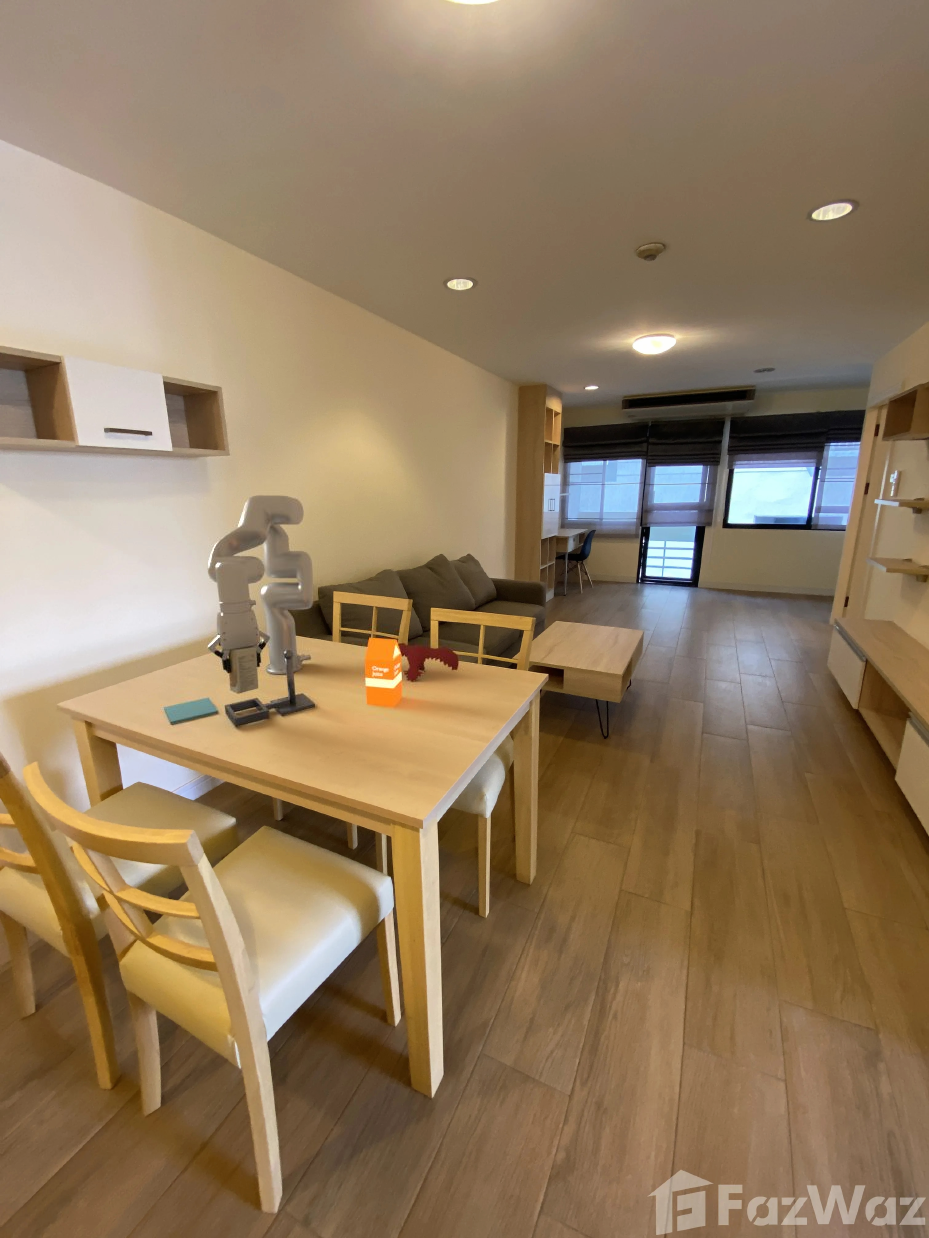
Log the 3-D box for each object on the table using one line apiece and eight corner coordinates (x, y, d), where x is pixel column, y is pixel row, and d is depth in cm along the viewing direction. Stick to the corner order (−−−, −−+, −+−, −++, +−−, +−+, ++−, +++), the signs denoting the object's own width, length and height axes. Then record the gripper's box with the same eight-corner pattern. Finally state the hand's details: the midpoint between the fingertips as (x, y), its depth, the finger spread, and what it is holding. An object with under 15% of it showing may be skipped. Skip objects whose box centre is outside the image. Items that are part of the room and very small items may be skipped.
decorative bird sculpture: (455, 693, 171) (463, 653, 178) (448, 683, 164) (458, 642, 170) (380, 684, 179) (391, 646, 186) (370, 674, 171) (382, 635, 178)
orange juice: (394, 707, 150) (392, 643, 145) (366, 704, 152) (363, 641, 147) (402, 696, 157) (400, 636, 152) (375, 694, 159) (373, 634, 154)
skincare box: (250, 685, 144) (248, 644, 141) (258, 688, 141) (257, 646, 139) (228, 690, 138) (226, 647, 136) (237, 694, 136) (235, 651, 134)
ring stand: (302, 696, 157) (298, 642, 153) (315, 707, 149) (311, 651, 144) (225, 714, 144) (218, 656, 139) (235, 728, 135) (228, 667, 131)
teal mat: (208, 699, 154) (208, 697, 154) (218, 713, 145) (217, 710, 145) (164, 709, 147) (163, 707, 147) (170, 724, 138) (170, 721, 137)
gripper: (264, 599, 142) (270, 658, 147) (196, 608, 132) (205, 671, 137) (272, 605, 137) (278, 666, 142) (203, 614, 126) (211, 680, 131)
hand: (242, 668), depth 139 cm, fingers closed on skincare box, 7 cm apart
